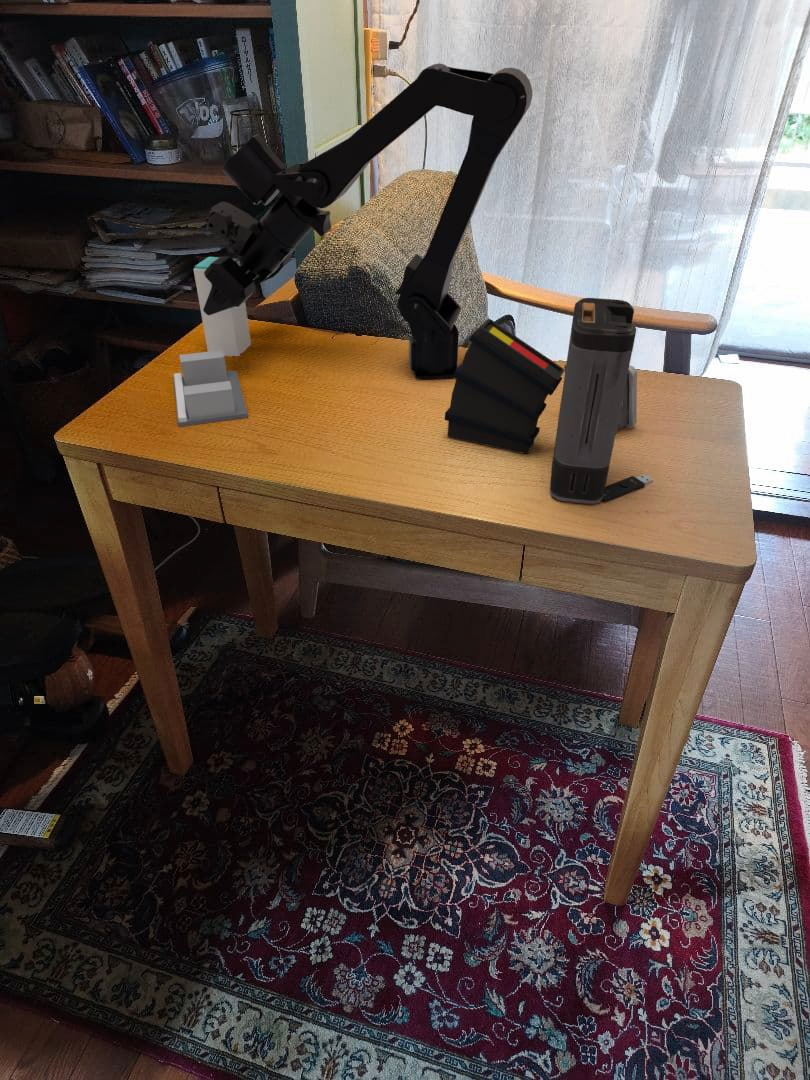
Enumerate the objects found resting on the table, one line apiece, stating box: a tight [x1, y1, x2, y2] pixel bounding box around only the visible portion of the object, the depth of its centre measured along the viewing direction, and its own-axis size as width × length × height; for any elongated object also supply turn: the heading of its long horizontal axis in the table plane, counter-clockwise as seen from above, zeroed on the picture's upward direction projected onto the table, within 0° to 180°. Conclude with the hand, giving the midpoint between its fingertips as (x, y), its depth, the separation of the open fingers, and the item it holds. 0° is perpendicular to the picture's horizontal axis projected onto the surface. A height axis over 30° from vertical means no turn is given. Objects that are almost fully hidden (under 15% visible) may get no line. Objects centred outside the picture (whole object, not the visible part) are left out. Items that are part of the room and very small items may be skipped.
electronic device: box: [549, 297, 637, 505], centre depth 79 cm, size 9×6×20 cm, turn 168°
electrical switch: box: [563, 364, 638, 432], centre depth 94 cm, size 9×5×9 cm, turn 38°
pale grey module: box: [193, 256, 252, 358], centre depth 111 cm, size 5×5×13 cm
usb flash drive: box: [600, 473, 654, 504], centre depth 84 cm, size 8×2×1 cm, turn 121°
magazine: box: [444, 318, 565, 454], centre depth 89 cm, size 4×13×15 cm, turn 66°
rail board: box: [173, 350, 249, 428], centre depth 100 cm, size 9×14×4 cm, turn 16°
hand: (219, 302), depth 111 cm, fingers open, 9 cm apart
